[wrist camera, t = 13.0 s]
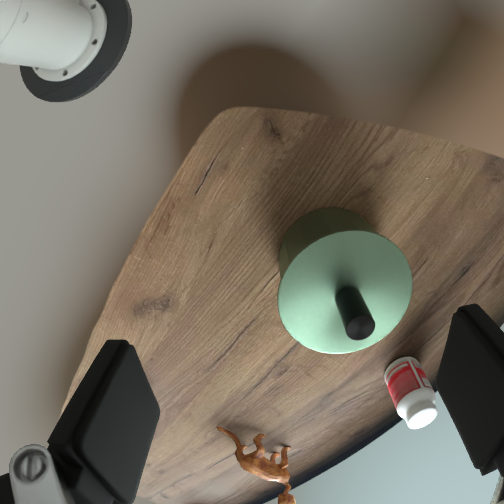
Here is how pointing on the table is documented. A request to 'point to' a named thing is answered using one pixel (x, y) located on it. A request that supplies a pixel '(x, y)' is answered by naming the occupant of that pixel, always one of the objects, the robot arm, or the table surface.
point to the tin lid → (344, 291)
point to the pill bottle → (411, 392)
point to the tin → (317, 230)
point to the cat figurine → (264, 464)
